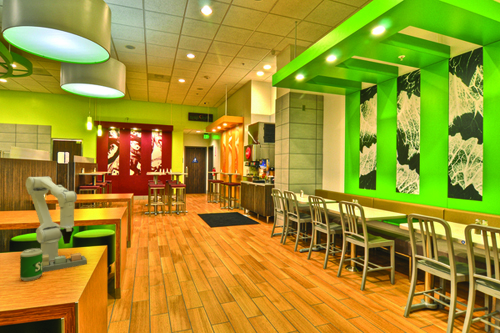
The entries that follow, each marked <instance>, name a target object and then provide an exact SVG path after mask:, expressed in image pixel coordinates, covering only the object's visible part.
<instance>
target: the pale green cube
mask: <svg viewBox="0 0 500 333" xmlns="http://www.w3.org/2000/svg"><path fill="white" fill-rule="evenodd" d="M66 259H67V258H66V255H65V254H64V255H58V256H57V257H55V260H54V261H55V264H60V263H66Z"/></svg>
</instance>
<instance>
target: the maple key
mask: <svg viewBox="0 0 500 333" xmlns="http://www.w3.org/2000/svg"><path fill="white" fill-rule="evenodd" d="M47 265H49V255H43V266H47Z"/></svg>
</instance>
